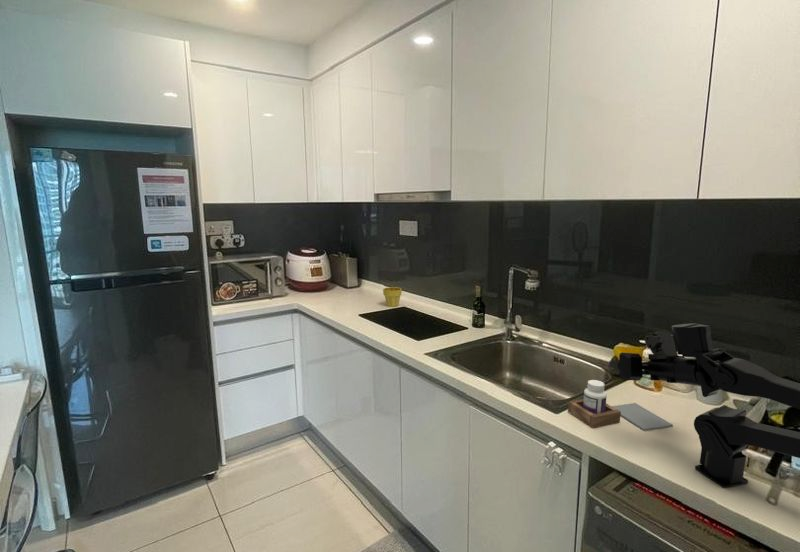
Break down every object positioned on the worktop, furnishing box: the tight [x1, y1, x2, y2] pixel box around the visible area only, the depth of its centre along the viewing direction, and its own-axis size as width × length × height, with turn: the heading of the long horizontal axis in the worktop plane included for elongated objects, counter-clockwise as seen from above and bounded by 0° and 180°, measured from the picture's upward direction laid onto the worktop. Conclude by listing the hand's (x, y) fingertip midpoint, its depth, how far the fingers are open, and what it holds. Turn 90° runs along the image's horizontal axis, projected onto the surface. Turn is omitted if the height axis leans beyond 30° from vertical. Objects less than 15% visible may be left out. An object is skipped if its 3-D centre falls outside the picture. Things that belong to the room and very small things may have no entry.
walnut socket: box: [567, 398, 621, 429], centre depth 108 cm, size 9×9×3 cm
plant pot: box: [382, 286, 402, 308], centre depth 228 cm, size 10×10×10 cm
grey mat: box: [611, 402, 674, 432], centre depth 108 cm, size 12×9×1 cm
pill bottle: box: [583, 379, 607, 414], centre depth 107 cm, size 5×5×10 cm
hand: (624, 364), depth 104 cm, fingers open, 9 cm apart
